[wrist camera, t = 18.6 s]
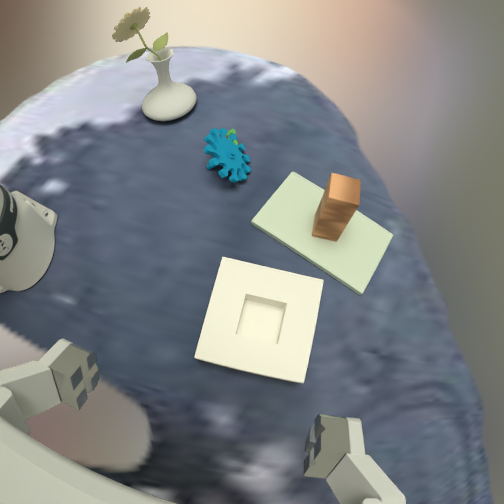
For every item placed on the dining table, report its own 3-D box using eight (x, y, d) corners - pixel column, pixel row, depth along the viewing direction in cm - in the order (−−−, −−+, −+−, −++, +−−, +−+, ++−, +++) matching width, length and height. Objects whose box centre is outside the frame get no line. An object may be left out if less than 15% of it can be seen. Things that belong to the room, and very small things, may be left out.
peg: (311, 236, 49) (328, 197, 39) (315, 213, 50) (331, 172, 40) (336, 241, 49) (359, 205, 38) (339, 219, 50) (360, 180, 40)
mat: (251, 223, 50) (251, 220, 49) (291, 174, 54) (292, 171, 53) (360, 295, 46) (362, 293, 45) (390, 237, 50) (393, 234, 49)
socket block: (198, 359, 42) (194, 357, 38) (224, 266, 48) (222, 256, 44) (298, 382, 41) (303, 382, 38) (317, 288, 47) (323, 280, 43)
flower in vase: (184, 84, 64) (172, -13, 41) (206, 112, 60) (197, 2, 37) (130, 107, 61) (101, 10, 38) (146, 137, 57) (114, 28, 34)
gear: (249, 191, 51) (202, 153, 45) (223, 204, 55) (178, 171, 49) (257, 146, 57) (218, 111, 51) (234, 160, 60) (196, 128, 54)
